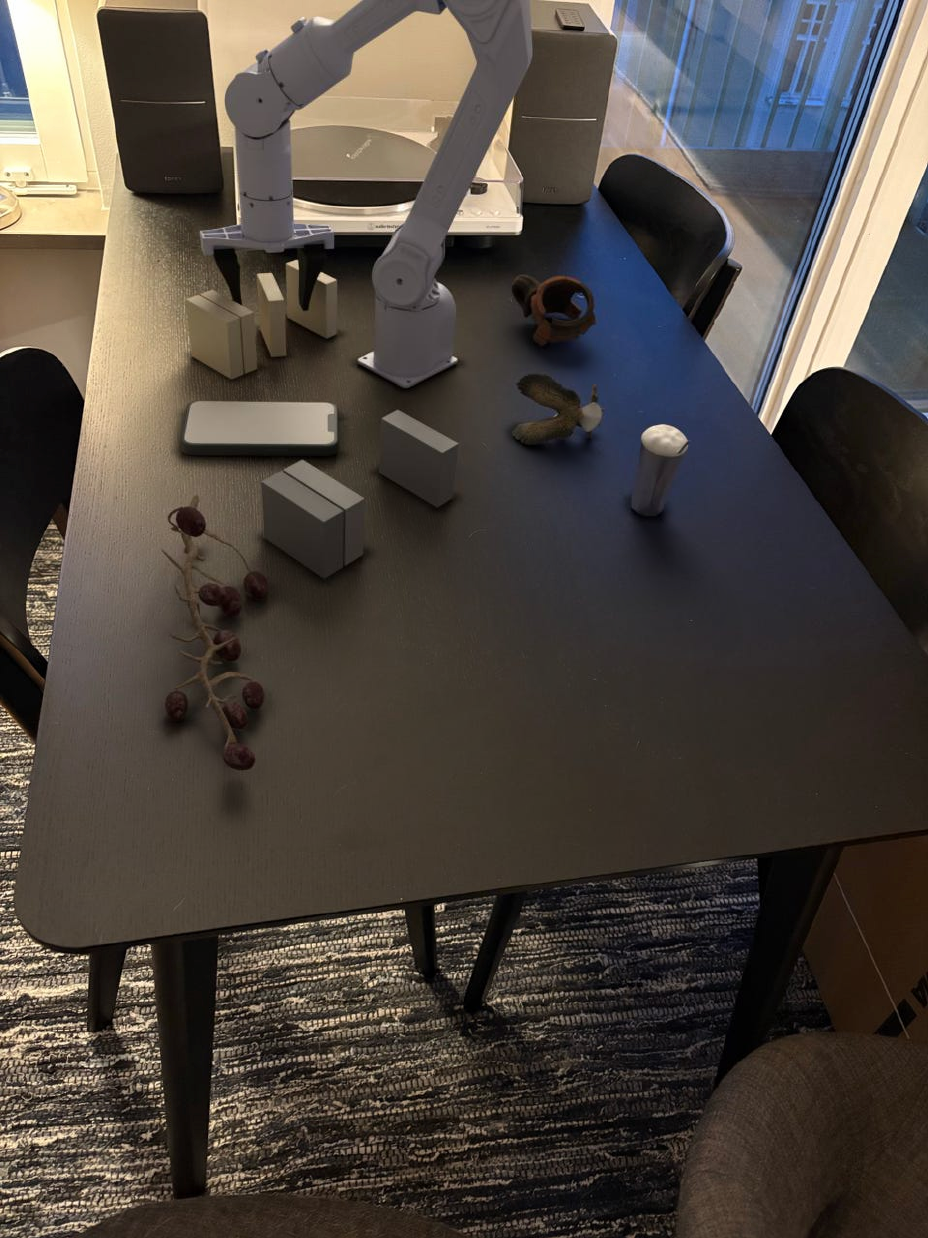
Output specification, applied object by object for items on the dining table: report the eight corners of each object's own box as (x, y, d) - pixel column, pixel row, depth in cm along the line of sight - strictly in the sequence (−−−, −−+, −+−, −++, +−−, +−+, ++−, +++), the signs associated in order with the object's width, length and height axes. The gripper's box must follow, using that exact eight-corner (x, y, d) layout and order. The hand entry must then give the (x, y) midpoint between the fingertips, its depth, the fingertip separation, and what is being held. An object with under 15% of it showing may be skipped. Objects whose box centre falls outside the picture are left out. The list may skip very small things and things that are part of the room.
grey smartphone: (180, 459, 98) (339, 459, 100) (178, 445, 97) (338, 446, 99) (189, 411, 105) (338, 413, 106) (187, 398, 103) (338, 400, 105)
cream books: (298, 313, 122) (296, 259, 117) (337, 334, 119) (337, 279, 114) (191, 355, 112) (185, 298, 108) (231, 379, 109) (226, 322, 105)
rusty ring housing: (599, 327, 128) (614, 290, 120) (564, 380, 126) (577, 346, 118) (521, 281, 129) (532, 241, 121) (485, 333, 126) (493, 296, 118)
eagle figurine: (581, 399, 111) (508, 387, 108) (610, 371, 105) (533, 357, 102) (582, 462, 109) (508, 451, 107) (612, 437, 103) (534, 425, 100)
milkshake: (645, 529, 97) (669, 445, 90) (615, 499, 100) (636, 415, 93) (681, 519, 98) (708, 436, 92) (651, 490, 102) (674, 407, 95)
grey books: (394, 463, 101) (397, 409, 96) (452, 497, 97) (458, 443, 93) (264, 538, 90) (260, 481, 86) (324, 579, 87) (323, 522, 82)
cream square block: (274, 327, 119) (271, 272, 114) (286, 355, 114) (284, 299, 110) (259, 328, 118) (256, 273, 114) (271, 357, 114) (268, 300, 109)
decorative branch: (259, 732, 65) (140, 426, 79) (192, 804, 70) (90, 502, 84) (379, 732, 74) (252, 456, 88) (312, 796, 78) (201, 523, 92)
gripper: (203, 207, 99) (214, 330, 109) (341, 202, 104) (340, 320, 113) (192, 181, 104) (204, 301, 113) (325, 177, 108) (325, 293, 118)
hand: (271, 309), depth 113 cm, fingers open, 7 cm apart
